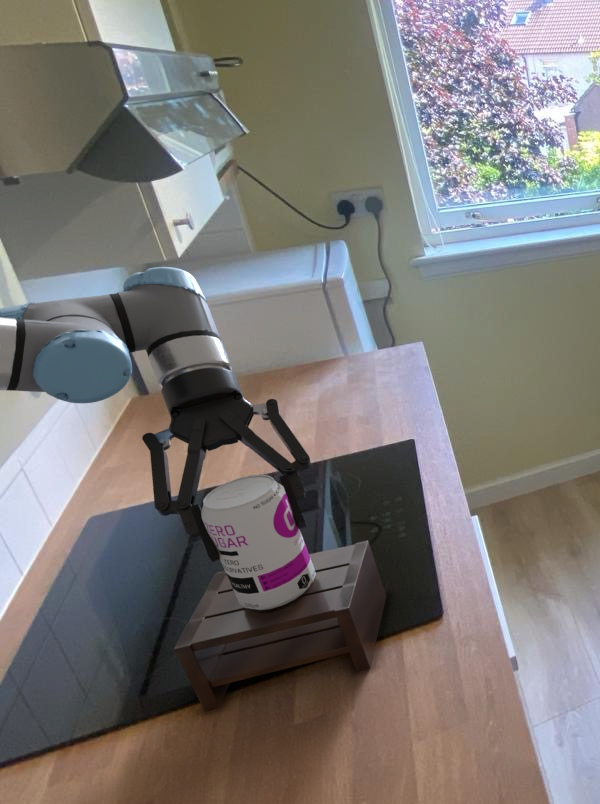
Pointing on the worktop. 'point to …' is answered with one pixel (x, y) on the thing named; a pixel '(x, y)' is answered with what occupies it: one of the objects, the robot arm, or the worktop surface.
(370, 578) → the rack
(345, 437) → the worktop surface
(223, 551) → the white drink can
